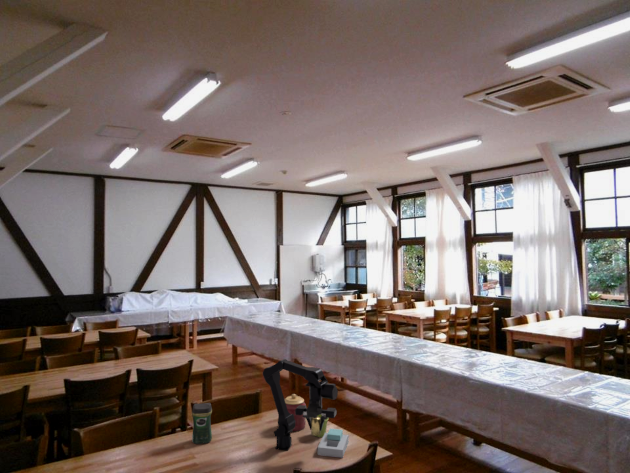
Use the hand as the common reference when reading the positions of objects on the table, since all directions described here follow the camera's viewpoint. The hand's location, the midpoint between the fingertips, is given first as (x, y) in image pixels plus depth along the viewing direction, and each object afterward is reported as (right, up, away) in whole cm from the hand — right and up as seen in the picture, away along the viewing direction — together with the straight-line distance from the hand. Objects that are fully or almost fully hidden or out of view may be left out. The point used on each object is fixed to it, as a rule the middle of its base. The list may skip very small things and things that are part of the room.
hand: (315, 430), depth 202 cm
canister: (-12, -13, +33) cm, 37 cm away
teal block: (+9, -8, +11) cm, 17 cm away
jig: (+9, -12, +7) cm, 16 cm away
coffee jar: (-57, -12, +15) cm, 61 cm away
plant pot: (+2, -13, +22) cm, 26 cm away
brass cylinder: (0, -2, 0) cm, 2 cm away
